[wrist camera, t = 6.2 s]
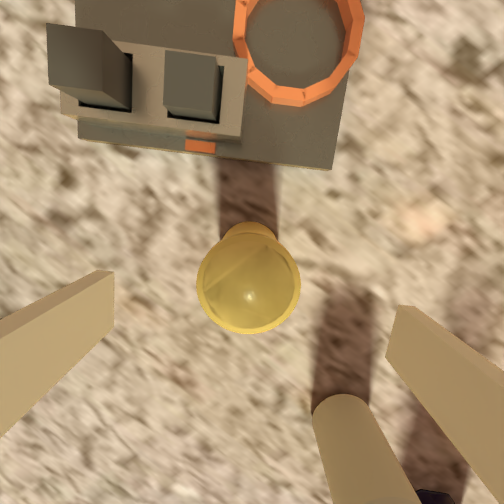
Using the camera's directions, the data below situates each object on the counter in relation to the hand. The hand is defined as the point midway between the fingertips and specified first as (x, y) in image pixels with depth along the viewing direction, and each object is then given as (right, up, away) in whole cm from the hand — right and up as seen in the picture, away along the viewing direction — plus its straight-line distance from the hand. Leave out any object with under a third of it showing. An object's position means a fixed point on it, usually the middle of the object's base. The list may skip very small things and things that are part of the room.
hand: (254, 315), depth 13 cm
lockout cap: (0, +3, +13) cm, 14 cm away
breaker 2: (-4, +14, +8) cm, 17 cm away
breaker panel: (-3, +18, +10) cm, 20 cm away
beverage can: (+10, -15, +18) cm, 25 cm away
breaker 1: (-10, +15, +7) cm, 19 cm away
